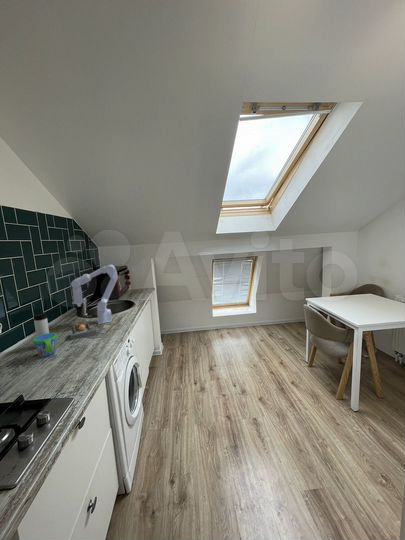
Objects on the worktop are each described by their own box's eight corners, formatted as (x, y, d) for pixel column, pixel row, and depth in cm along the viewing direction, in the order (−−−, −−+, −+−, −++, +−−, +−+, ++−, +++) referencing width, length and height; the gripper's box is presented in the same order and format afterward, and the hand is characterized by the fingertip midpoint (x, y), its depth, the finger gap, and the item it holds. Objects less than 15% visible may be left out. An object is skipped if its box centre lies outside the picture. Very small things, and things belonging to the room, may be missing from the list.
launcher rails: (88, 324, 168) (88, 322, 168) (90, 329, 157) (90, 328, 157) (73, 327, 163) (73, 325, 163) (74, 333, 152) (74, 331, 152)
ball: (85, 328, 160) (84, 323, 159) (85, 330, 157) (85, 324, 156) (78, 329, 158) (78, 324, 157) (79, 331, 154) (78, 326, 154)
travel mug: (44, 348, 132) (40, 315, 129) (35, 347, 133) (30, 314, 130) (53, 343, 138) (49, 311, 135) (44, 342, 139) (40, 311, 136)
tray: (94, 329, 157) (94, 325, 156) (96, 334, 149) (95, 330, 149) (70, 335, 149) (70, 330, 149) (71, 340, 141) (70, 335, 141)
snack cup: (34, 352, 127) (32, 335, 126) (56, 346, 134) (54, 329, 132) (36, 363, 115) (33, 344, 114) (60, 356, 122) (58, 338, 120)
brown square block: (85, 324, 166) (85, 320, 166) (86, 327, 161) (86, 323, 161) (76, 326, 163) (76, 322, 163) (77, 329, 158) (76, 325, 158)
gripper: (71, 294, 169) (73, 312, 171) (71, 298, 157) (74, 317, 158) (81, 293, 172) (83, 310, 174) (83, 297, 160) (85, 315, 162)
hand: (79, 313), depth 167 cm, fingers open, 3 cm apart
